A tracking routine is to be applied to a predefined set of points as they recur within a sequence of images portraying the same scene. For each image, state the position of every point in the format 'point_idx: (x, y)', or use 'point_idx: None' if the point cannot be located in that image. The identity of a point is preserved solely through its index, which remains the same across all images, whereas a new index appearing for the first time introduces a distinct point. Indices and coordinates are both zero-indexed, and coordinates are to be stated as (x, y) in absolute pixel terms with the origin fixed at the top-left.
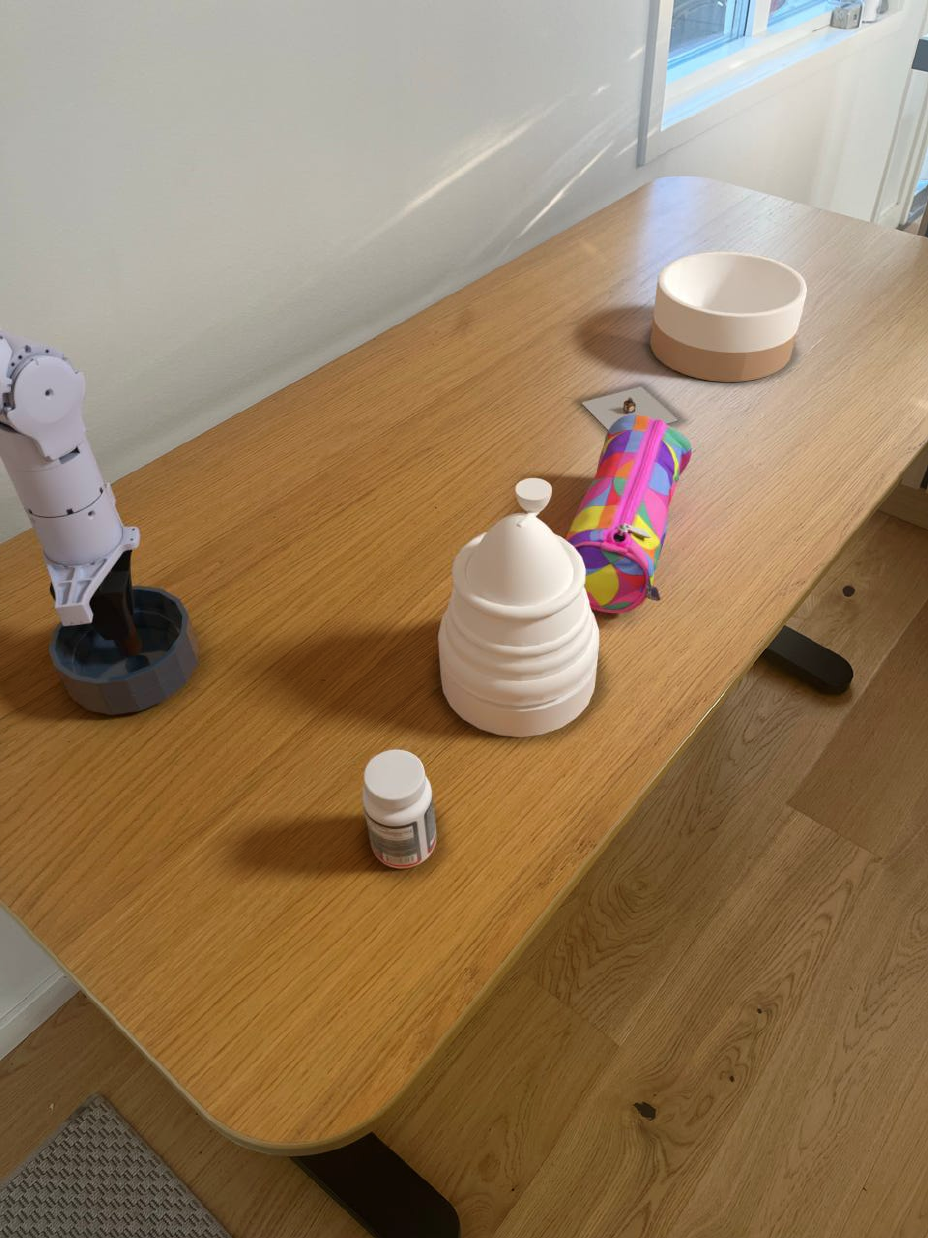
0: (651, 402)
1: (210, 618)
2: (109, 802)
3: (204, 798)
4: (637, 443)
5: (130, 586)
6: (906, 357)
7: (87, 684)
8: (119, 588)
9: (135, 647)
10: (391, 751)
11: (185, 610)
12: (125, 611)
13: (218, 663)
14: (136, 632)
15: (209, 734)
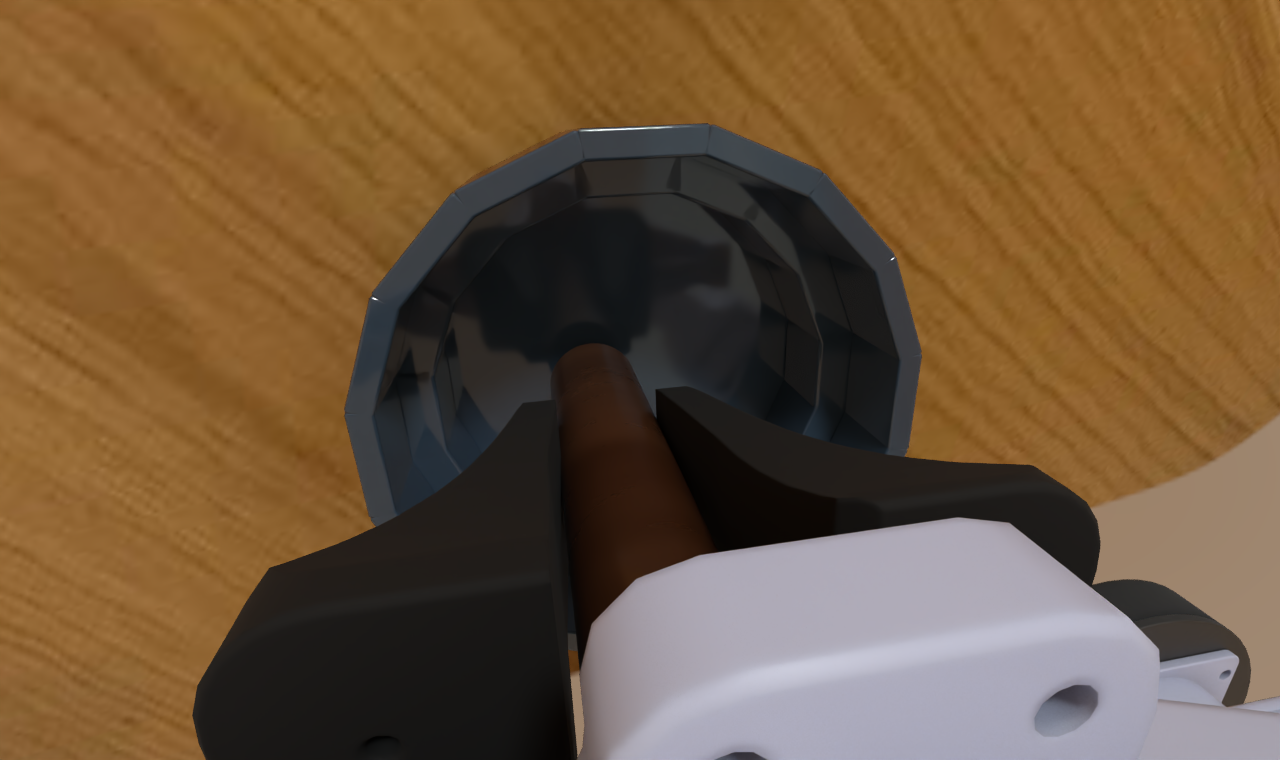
0: None
1: (370, 106)
2: (1071, 328)
3: (1163, 60)
4: None
5: (538, 448)
6: None
7: None
8: (1087, 519)
9: (627, 363)
10: None
11: (548, 147)
12: (774, 428)
13: (633, 50)
14: (599, 370)
15: (948, 62)
